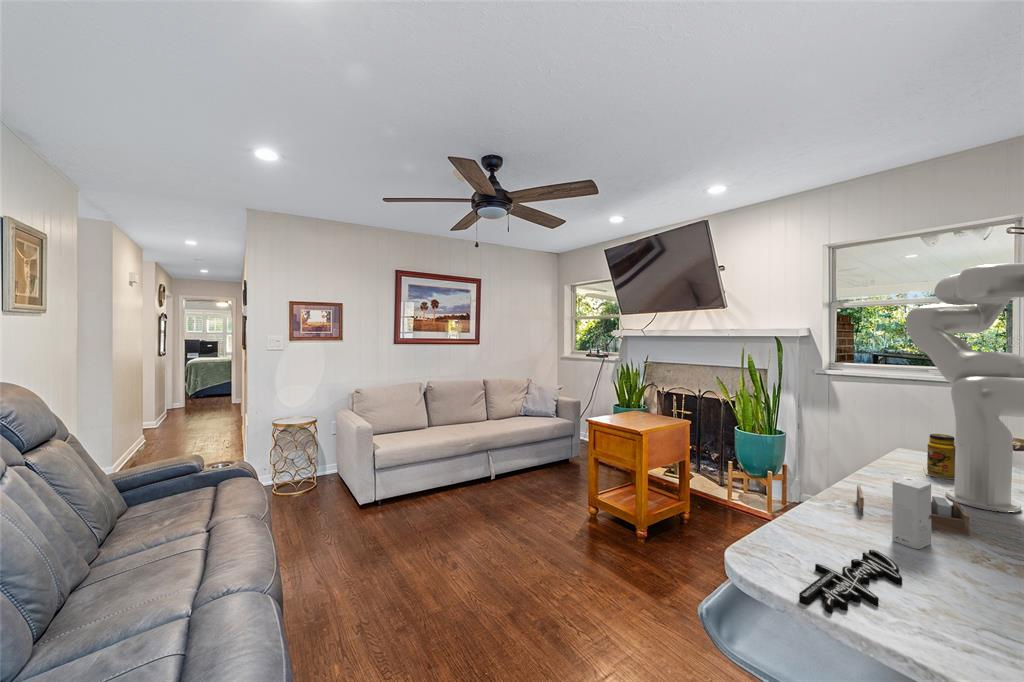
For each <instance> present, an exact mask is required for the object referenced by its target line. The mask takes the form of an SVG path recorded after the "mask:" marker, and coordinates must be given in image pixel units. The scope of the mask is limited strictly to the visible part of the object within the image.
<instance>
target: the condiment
mask: <svg viewBox="0 0 1024 682" xmlns="http://www.w3.org/2000/svg"><path fill="white" fill-rule="evenodd" d="M955 443H956V437H954V436H952V435H948V434H943V433H930V434H929V442H928V443H927V454H926V455H927V457H926V458H927V459H926V465H927V467H924V468H923V471H924V474H925V476H930V477H935V478H941V479H949V480H955Z"/></svg>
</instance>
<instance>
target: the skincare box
mask: <svg viewBox="0 0 1024 682" xmlns="http://www.w3.org/2000/svg"><path fill="white" fill-rule="evenodd" d="M891 494H892V510H891V511H892V515H891V516H892V519H891V520H892V522H891V523H892V525H891V529H892V530H891V531H892V532H891V537H892V541H894V542H896V543H897V544H898V543H899V544H901V545H903V546H907V547H909V548H913V549H915V550H919V549H922V548H925V547H927V546H929V545H930V544H931V543H932V529H931V502H932V483H928V482H925V481H921V480H917V479H912V478H907V477H906V478H903V479H897V480H895V481H893V482H892V493H891Z"/></svg>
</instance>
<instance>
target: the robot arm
mask: <svg viewBox="0 0 1024 682" xmlns="http://www.w3.org/2000/svg"><path fill="white" fill-rule="evenodd" d="M934 295H935V297H936V298H937V300H938V301H940V302H942V304H941V303H940V304H928V305H927V304H925V305H921V306H918V307H915V308H913V309H911V310H910V311H909V312H908V313H907V315H906V318H905V326H906V331H907V334H908V337H909V338H910V339H911V341H912V342H913V344H914V345H915V346H916V347H917V348H919V350H921V351H922V352H923V353H925V355H926V356H927V357H929V359H930V360H931V362H932V364H934V366H935V367H936V368H937V370H938V371H939V372H940V374H941V375H942V376H943V378H944V379H945V380H946V381H947V382H948V383H950V384H951V385H952V386H951V390H950V394H951V400H952V404H953V410H954V417H955V444H954V445H955V479H954V487H953V488H949V489H947V490H945V496H946V497H947V498H949V499H950V500H952V502H953V501H956V502H957V503H958V504H962V505H964V506H969V507H972V508H976V509H981V510H986V511H990V510H991V511H992V512H997V511H999V513H1009V512H1008V511H1018V510H1021V511H1022V506H1021V504H1020V503H1018V502H1017V501H1015V500H1012V488H1013V487H1012V484H1013V483H1012V480H1013V453H1014V452H1013V450H1014V449H1013V447H1014V444H1013V442H1014V438H1013V434H1012V432H1011V430H1010V429H1009V428H1008V427H1007V426H1006V424H1005V423H1004V422H1002V420H1001V419H1000V417H1011V418H1012V417H1013V418H1014V417H1016V418H1024V356H1021V355H1019V354H1015V353H1012V352H1000V351H999V352H998V351H991V352H990V351H978V350H974V349H973V348H972V347H971V346H970V345H969V344H968V342H966V341H965V340H964V339H962V338H960V337H959V336H956V335H953V334H979V333H983V332H986V331H988V329H990V328H991V327H992V326H993V325H994V323H995V321H996V320H997V319H998V318H999V317H1000V315H1001V314H1002V313H1003V311H1004V310H1005V309H1006V307H1007V306H1008V304H1009V303H1010V302H1011V300H1012V298H1024V262H1015V263H1013V262H1011V263H1010V262H1009V263H1008V262H1007V263H992V264H983V265H977V266H973V267H968V268H965V269H963V270H962V271H961V272H960V273H956V274H952V275H949V276H946V277H944V278H943V279H941V280H940V281H939V282H938V283H937V284H936V285H935V287H934ZM943 303H944V304H943Z"/></svg>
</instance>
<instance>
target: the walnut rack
mask: <svg viewBox="0 0 1024 682" xmlns="http://www.w3.org/2000/svg"><path fill="white" fill-rule="evenodd" d="M864 499H865V498H864V495H863V490H862V487H861V485H858V484H857V485H856V503H857V509H858V512H859V515H860V514H861V516H864V510H865V509H864V506H865V504H864V503H865V500H864ZM949 505H950V506H951V517H945V516H940V515H934V514H932V501H931V530H937V531H942V532H947V533H952V534H957V535H961V534H962V535H963V536H967V537H968V536H970V516H969V515H968V514H967V512H966V511H965V510H964V509H963V508H962V507H961V505H960V503H958V502H956V501H953V500H952V504H949ZM962 535H961V536H962Z"/></svg>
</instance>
